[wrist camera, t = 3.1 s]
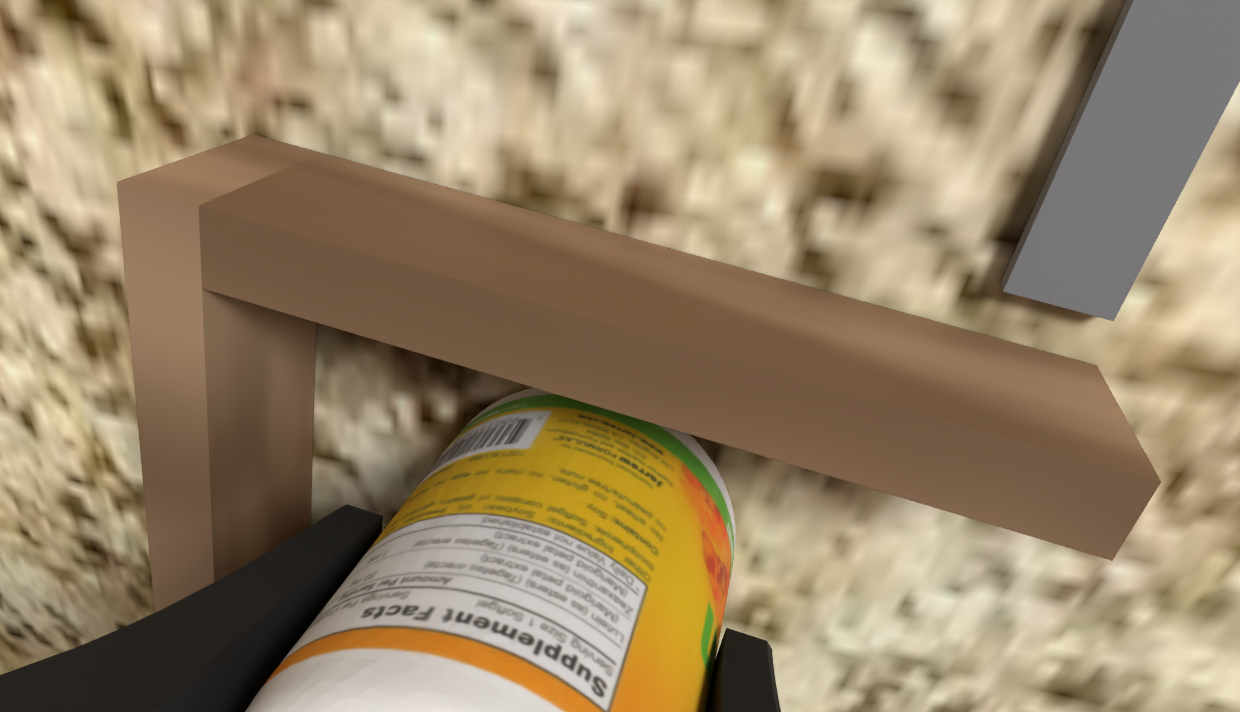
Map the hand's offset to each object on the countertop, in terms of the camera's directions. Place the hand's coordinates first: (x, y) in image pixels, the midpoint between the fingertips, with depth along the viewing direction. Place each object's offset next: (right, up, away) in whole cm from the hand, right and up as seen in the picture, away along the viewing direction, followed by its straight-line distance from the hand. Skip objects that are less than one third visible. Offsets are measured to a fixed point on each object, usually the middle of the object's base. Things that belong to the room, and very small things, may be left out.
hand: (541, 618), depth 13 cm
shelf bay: (+1, +1, +3) cm, 3 cm away
